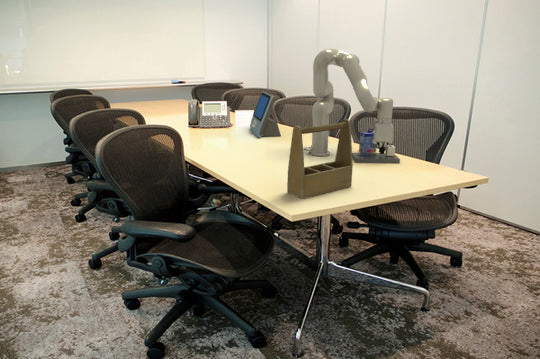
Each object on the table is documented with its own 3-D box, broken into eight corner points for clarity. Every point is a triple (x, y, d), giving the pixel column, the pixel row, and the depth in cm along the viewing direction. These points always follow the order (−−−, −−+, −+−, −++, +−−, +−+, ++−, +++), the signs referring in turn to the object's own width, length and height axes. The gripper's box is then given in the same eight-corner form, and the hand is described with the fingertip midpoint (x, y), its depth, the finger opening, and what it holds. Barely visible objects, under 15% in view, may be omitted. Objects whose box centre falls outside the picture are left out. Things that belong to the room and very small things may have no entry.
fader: (387, 155, 231) (388, 146, 229) (385, 154, 235) (386, 145, 233) (394, 155, 230) (395, 147, 229) (392, 154, 235) (393, 145, 233)
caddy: (302, 199, 170) (304, 127, 162) (286, 192, 179) (287, 123, 170) (351, 186, 187) (356, 120, 178) (335, 181, 195) (338, 117, 186)
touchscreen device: (247, 129, 322) (248, 90, 313) (272, 130, 326) (273, 91, 317) (255, 138, 289) (257, 95, 280) (282, 138, 293) (285, 95, 285)
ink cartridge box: (364, 153, 248) (365, 129, 244) (358, 151, 253) (359, 128, 249) (376, 152, 253) (378, 128, 248) (370, 150, 257) (372, 127, 253)
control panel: (355, 162, 227) (356, 158, 226) (351, 156, 241) (351, 152, 240) (399, 163, 227) (400, 158, 226) (392, 157, 240) (393, 152, 239)
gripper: (372, 122, 224) (369, 155, 229) (399, 122, 223) (396, 155, 229) (369, 120, 231) (366, 152, 236) (396, 120, 230) (393, 152, 236)
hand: (381, 153), depth 232 cm, fingers closed
